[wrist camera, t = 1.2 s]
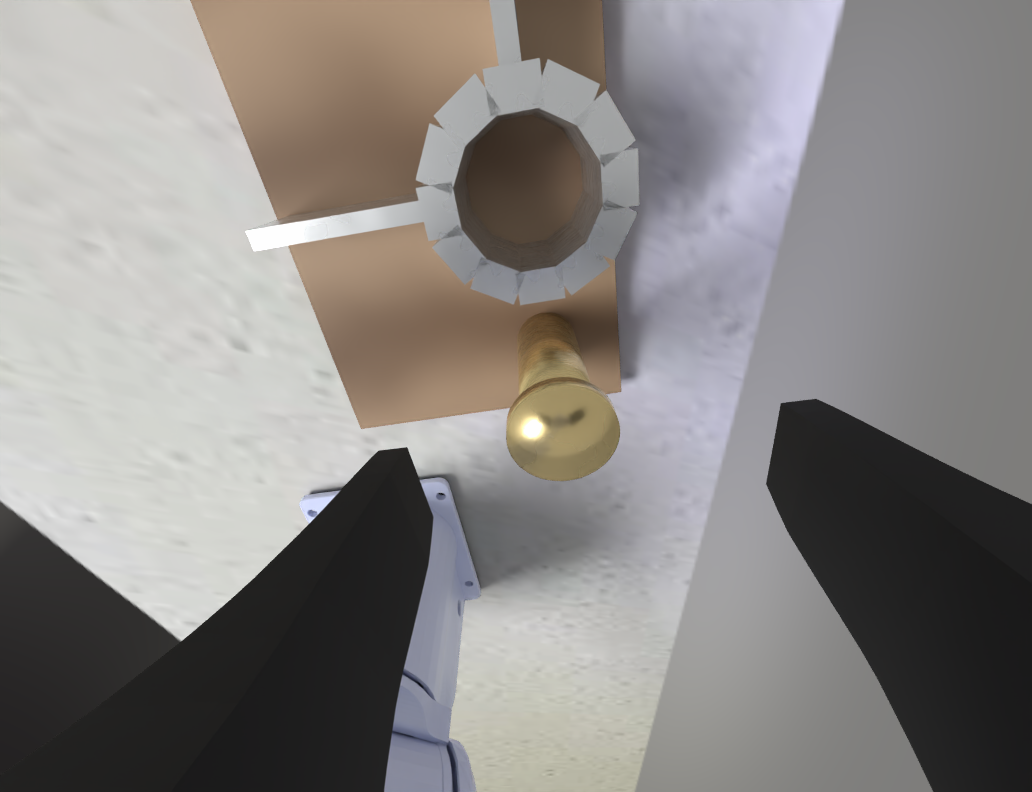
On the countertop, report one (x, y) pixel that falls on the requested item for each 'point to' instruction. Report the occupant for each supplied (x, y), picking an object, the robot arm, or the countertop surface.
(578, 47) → the walnut board
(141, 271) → the countertop surface
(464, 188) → the grey winged collar
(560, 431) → the brass cabinet knob
